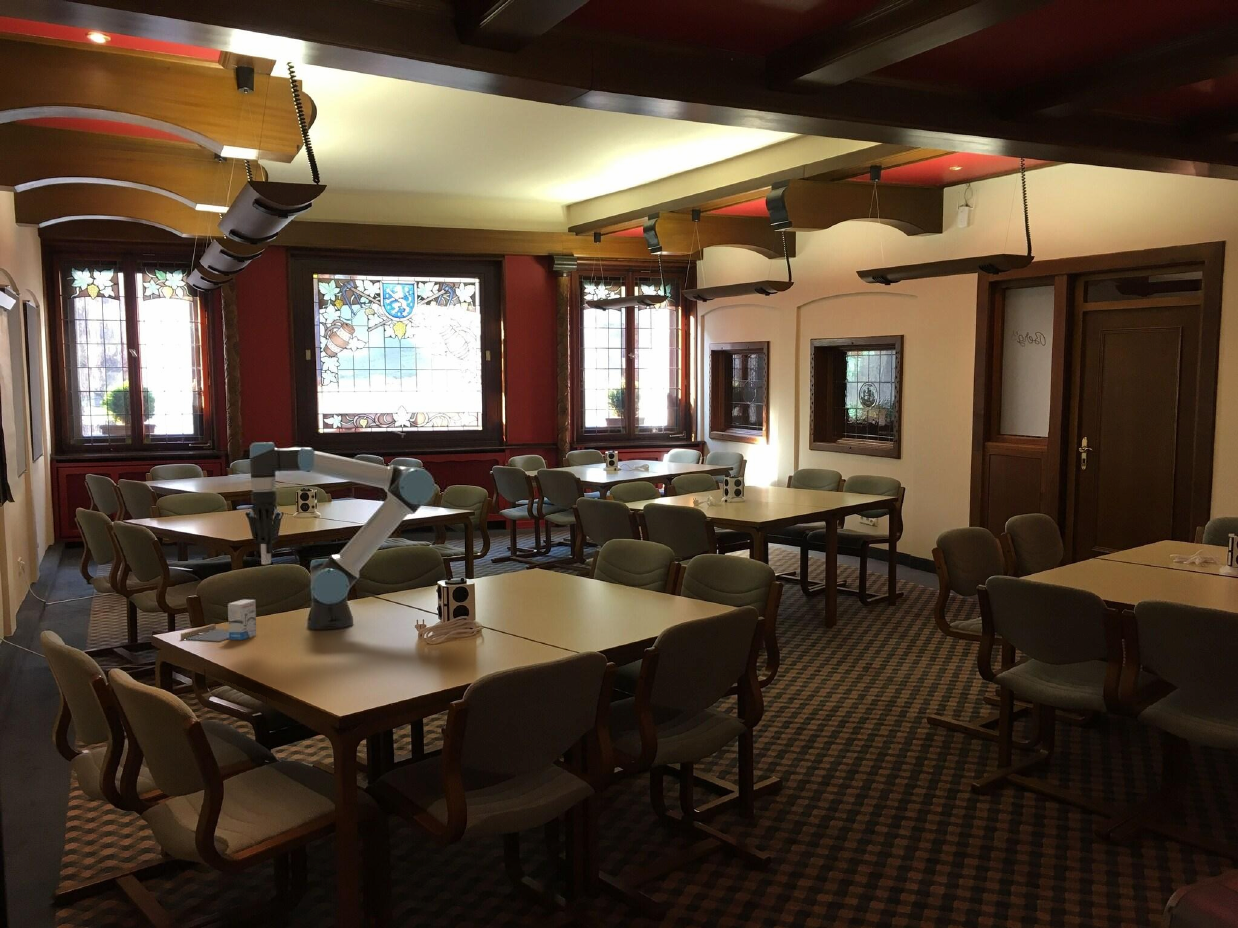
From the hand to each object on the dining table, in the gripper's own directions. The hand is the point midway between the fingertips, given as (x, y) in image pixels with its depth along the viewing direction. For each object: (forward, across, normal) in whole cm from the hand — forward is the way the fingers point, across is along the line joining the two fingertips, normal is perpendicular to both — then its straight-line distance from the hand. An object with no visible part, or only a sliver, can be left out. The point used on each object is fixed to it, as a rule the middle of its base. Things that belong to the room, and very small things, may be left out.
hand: (266, 563), depth 305 cm
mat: (+24, +20, 0) cm, 32 cm away
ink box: (+25, +10, 0) cm, 27 cm away
